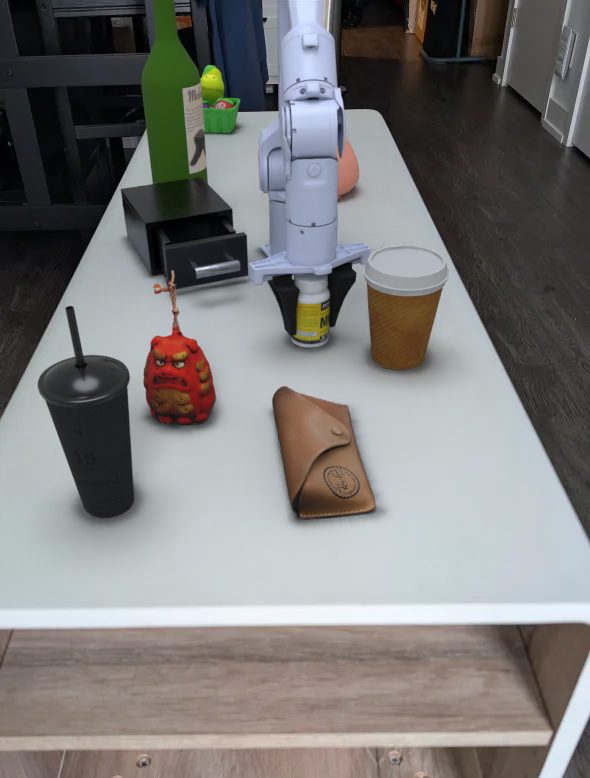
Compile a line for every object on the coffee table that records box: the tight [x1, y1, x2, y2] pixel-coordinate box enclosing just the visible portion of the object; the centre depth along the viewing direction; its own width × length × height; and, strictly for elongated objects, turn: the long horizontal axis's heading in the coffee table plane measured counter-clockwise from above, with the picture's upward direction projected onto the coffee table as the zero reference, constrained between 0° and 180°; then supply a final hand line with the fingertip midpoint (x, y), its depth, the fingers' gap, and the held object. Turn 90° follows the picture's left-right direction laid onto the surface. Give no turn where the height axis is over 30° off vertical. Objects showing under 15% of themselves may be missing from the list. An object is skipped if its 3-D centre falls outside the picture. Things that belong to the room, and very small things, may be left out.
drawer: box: [152, 216, 249, 290], centre depth 110 cm, size 18×11×6 cm, turn 21°
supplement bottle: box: [290, 273, 330, 349], centre depth 96 cm, size 5×5×8 cm
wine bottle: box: [140, 0, 209, 185], centre depth 121 cm, size 9×9×32 cm
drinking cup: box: [37, 305, 135, 518], centre depth 69 cm, size 8×8×20 cm
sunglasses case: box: [271, 385, 377, 520], centre depth 79 cm, size 18×7×7 cm
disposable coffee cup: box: [362, 244, 451, 371], centre depth 91 cm, size 10×10×12 cm
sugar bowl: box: [336, 137, 360, 200], centre depth 134 cm, size 12×14×10 cm
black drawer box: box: [120, 177, 234, 277], centre depth 118 cm, size 15×13×8 cm
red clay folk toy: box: [143, 270, 217, 426], centre depth 82 cm, size 8×7×15 cm
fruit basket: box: [200, 64, 241, 134], centre depth 163 cm, size 11×9×11 cm
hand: (309, 327), depth 98 cm, fingers closed on supplement bottle, 5 cm apart
